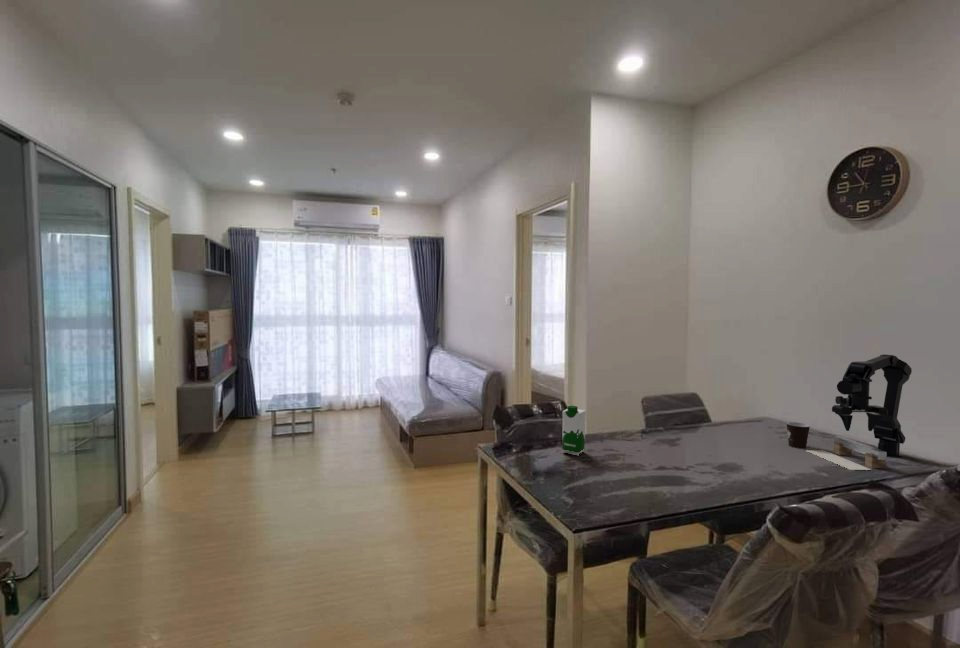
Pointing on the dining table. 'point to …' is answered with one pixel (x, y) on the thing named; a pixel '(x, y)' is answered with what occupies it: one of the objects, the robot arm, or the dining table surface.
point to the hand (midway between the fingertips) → (858, 430)
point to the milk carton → (573, 429)
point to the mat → (838, 460)
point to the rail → (861, 447)
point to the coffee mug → (797, 434)
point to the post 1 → (841, 449)
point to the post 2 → (874, 462)
